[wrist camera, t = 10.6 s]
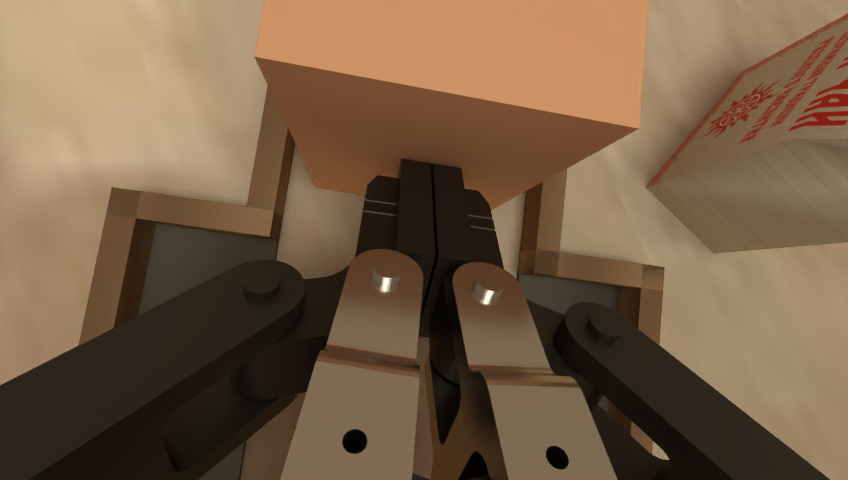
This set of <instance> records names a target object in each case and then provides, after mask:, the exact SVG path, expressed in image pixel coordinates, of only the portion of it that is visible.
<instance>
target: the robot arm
mask: <svg viewBox="0 0 848 480" xmlns="http://www.w3.org/2000/svg"><path fill="white" fill-rule="evenodd" d="M494 230H495V227H494V223H493V220H492V214H491V209H490V205H489V203H488V202H487V200H486V199H485V198H484V197H483V196H482V194H481V193H480V192H479V191H477V190H471V189H465V188H464V181H463V175H462V169H461V168H457V167H451V166H445V165H439V164H432V165H431V164H430V163H426V162H420V161H414V160H407V159H401V162H400V167H399V173H398V178H394V177H387V176H381V175H377V176H376V177H375V178H374V179H373V180H372V181H371V182H370V183H369V184H368V185H367V190H366V196H365V202H364V208H363V214H362V220H361V226H360V232H359V239H358V245H357V251H356V255H355V258H354V259H353V261H352V262H351V264H350V265H349V266H348V267H347V268H345V269H344V270H342V271H341V272H339V273H336V274H334V275H331V276H327V277H321V278H314V279H305V280H303V277H302V276H301V274H300V273H299V272H298V271H297V270H296V269H295V268H293V267H292V266H290V265H288V264H286V263H283V262H279V261H275V260H254V261H249V262H245V263H242V264H240V265H237V266H235V267H233V268H231V269H229V270H227V271H225V272H223V273H221V274H219V275H217V276H215V277H213V278H211V279H209V280H207V281H205V282H203V283H202V284H200V285H198V286H196V287H194V288H192V289H190V290H188V291H186V292H184V293H182V294H180V295H178V296H176V297H174V298H172V299H170V300H168V301H166V302H164V303H162V304H160V305H158V306H156V307H154V308H152V309H150V310H148V311H146V312H144V313H142V314H140V315H138V316H136V317H134V318H132V319H130V320H128V321H126V322H125V323H123V324H121V325H119V326H117V327H115V328H113V329H111V330H109V331H107V332H105V333H103V334H101V335H99V336H97V337H95V338H93V339H91V340H89V341H87V342H85V343H83V344H81V345H79V346H77V347H75V348H73V349H71V350H69V351H67V352H65V353H63V354H61V355H59V356H57V357H55V358H53V359H51V360H49V361H47V362H46V363H44V364H42V365H40V366H38V367H36V368H34V369H32V370H30V371H28V372H26V373H24V374H22V375H20V376H18V377H16V378H14V379H12V380H10V381H8V382H6V383H4V384H2V385H0V480H199V479H200V478H201V477H202V476H203V475H205V474H206V473H207V472H208V471H209V470H211V469H212V468H213V467H214V466H215V465H217V464H218V463H219V462H220V461H222V460H223V459H224V458H225V457H226V456H228V455H229V454H230V453H231V452H232V451H234V450H235V449H236V448H237V447H238V446H240V445H241V444H242V443H243V442H245V441H246V440H247V439H248V438H249V437H251V436H252V435H253V434H254V433H255V432H257V431H258V430H259V429H260V428H261V427H263V426H264V425H265V424H266V423H267V422H269V421H270V420H271V419H272V418H274V417H275V416H276V415H277V414H278V413H280V412H281V411H282V410H283V409H284V408H286V407H287V406H288V405H289V404H290V403H291V402H292V401H293V400H294V399H295V398H296V397H297V395H298V393H303V392H307V393H306V396H305V399H304V402H303V406H302V409H301V412H300V416H299V419H298V422H297V426H296V429H295V432H294V435H293V439H292V442H291V445H290V449H289V452H288V455H287V458H286V462H285V465H284V468H283V472H282V475H281V478H280V480H429V479H427V478H424V477H421V476H418V475H415V474H412V471H413V459H414V446H415V433H416V421H417V408H418V395H419V383H420V367H419V365H416V357H417V345H418V336H420V337H429V344H430V350H429V353H428V356H427V360H426V363H425V377H426V387H427V396H428V406H429V416H430V426H431V436H432V445H433V466H432V473H431V480H830V479H829V478H827V477H826V476H825V475H824V474H822V473H821V472H820V471H818V470H817V469H816V468H815V467H813V466H812V465H811V464H810V463H808V462H807V461H806V460H804V459H803V458H802V457H801V456H799V455H798V454H797V453H796V452H794V451H793V450H792V449H790V448H789V447H788V446H787V445H785V444H784V443H783V442H782V441H780V440H779V439H778V438H776V437H775V436H774V435H773V434H771V433H770V432H769V431H768V430H766V429H765V428H764V427H762V426H761V425H760V424H759V423H757V422H756V421H755V420H754V419H752V418H751V417H750V416H748V415H747V414H746V413H745V412H743V411H742V410H741V409H740V408H738V407H737V406H736V405H734V404H733V403H732V402H731V401H729V400H728V399H727V398H726V397H724V396H723V395H722V394H720V393H719V392H718V391H717V390H715V389H714V388H713V387H712V386H710V385H709V384H708V383H706V382H705V381H704V380H703V379H701V378H700V377H699V376H698V375H696V374H695V373H694V372H692V371H691V370H690V369H689V368H687V367H686V366H685V365H684V364H682V363H681V362H680V361H678V360H677V359H676V358H675V357H673V356H672V355H671V354H670V353H668V352H667V351H666V350H664V349H663V348H662V347H661V346H659V345H658V344H657V343H656V342H654V341H653V340H652V339H650V338H649V337H648V336H647V335H645V334H644V333H643V332H642V331H640V330H639V329H638V328H636V327H635V326H634V325H633V324H631V323H630V322H629V321H628V320H626V319H625V318H624V317H622V316H621V315H620V314H618V313H617V312H615V311H614V310H612V309H610V308H608V307H606V306H603V305H601V304H597V303H593V302H579V303H576V304H574V305H572V306H571V307H569V309H568V310H567V312H566V313H565V315H564V314H562V313H559V312H556V311H554V310H551V309H548V308H546V307H543V306H540V305H538V304H536V303H533V302H532V301H530V300H528V299H526V298H525V296H524V293H523V290H522V288H521V285H520V284H519V282H518V281H517V280H516V279H515V278H514V276H512V275H511V274H510V273H509V272H507V271H506V270H504V267H503V263H502V258H501V254H500V249H499V245H498V240H497V236H496V232H495V231H494ZM604 396H605V397H606V398H607V399H608V400H609V401H610V402H612V403H613V404H614V405H615V406H616V407H617V408H618V409H619V410H620V411H621V412H622V413H623V414H625V415H626V416H627V417H628V418H629V419H630V420H631V421H632V422H633V423H634V424H635V425H636V426H638V427H639V428H640V429H641V430H642V431H643V432H644V433H645V434H646V435H647V436H648V437H650V438H651V439H652V440H653V441H654V442H655V443H656V444H657V445H658V446H659V447H660V448H661V449H662V450H663V451H664V452H665V453H666V454H667V456H668V457H669V459H670V460H663V459H660V458H657V457H655V456H653V455H652V454H651V453H649V452H648V451H647V450H646V449H645V448H644V447H643V446H642V445H641V444H640V443H639V442H638V441H636V440H635V439H634V438H633V437H632V436H631V435H630V434H629V433H628V432H627V431H626V430H625V429H624V428H623V427H622V426H621V425H619V424H618V423H617V422H616V421H615V420H614V419H613V418H612V417H611V416H610V415H609V414H608V413H607V412H606V411H605V410H604V409H603V408H601V407H600V406H599V405H598V404H599V403H600V401H601V400H602V399H603V398H604Z"/></svg>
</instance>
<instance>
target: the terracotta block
mask: <svg viewBox="0 0 848 480" xmlns="http://www.w3.org/2000/svg"><path fill="white" fill-rule="evenodd" d="M648 4H649V0H265V1H264V7H263V13H262V18H261V24H260V29H259V35H258V40H257V46H256V51H255V59H256V61H257V63H258V65H259V67H260V69H261V71H262V73H263V76H264V78H265V80H266V82H267V84H268V86H269V88H270V90H271V92H272V95H273V97H274V99H275V101H276V103H277V105H278V107H279V109H280V111H281V114H282V116H283V118H284V120H285V122H286V124H287V126H288V128H289V131H290V133H291V135H292V137H293V139H294V141H295V143H296V145H297V147H298V150H299V152H300V154H301V156H302V158H303V160H304V162H305V164H306V166H307V169H308V171H309V173H310V175H311V177H312V179H313V181H314V183H315V185H316V188H321V189H328V190H334V191H341V192H347V193H354V194H360V195H366V190H367V185H368V184H369V183H370V182H371V181H372V180H373V179H374V178H375V177H376V176H377V175H381V176H387V177H394V178H398V173H399V167H400V162H401V159H407V160H414V161H420V162H426V163H430V164H431V165H432V164H439V165H445V166H451V167H457V168H461V169H462V175H463V181H464V188H465V189H471V190H477V191H479V192H480V193H481V194H482V196H483V197H484V198H485V199H486V200H487V202H488V203H489V205H490V209H491V210H492V209H494V208H496V207H498V206H499V205H501V204H503V203H505V202H507V201H509V200H510V199H512V198H514V197H516V196H518V195H519V194H521V193H523V192H525V191H527V190H528V189H530V188H532V187H534V186H536V185H538V184H539V183H541V182H543V181H545V180H547V179H548V178H550V177H552V176H554V175H556V174H557V173H559V172H561V171H563V170H565V169H567V168H568V167H570V166H572V165H574V164H576V163H577V162H579V161H581V160H583V159H585V158H586V157H588V156H590V155H592V154H594V153H596V152H597V151H599V150H601V149H603V148H605V147H606V146H608V145H610V144H612V143H614V142H615V141H617V140H619V139H621V138H623V137H625V136H626V135H628V134H630V133H632V132H634V131H635V130H637V129H639V123H640V109H641V96H642V83H643V70H644V57H645V43H646V30H647V17H648Z"/></svg>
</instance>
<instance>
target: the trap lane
mask: <svg viewBox="0 0 848 480" xmlns="http://www.w3.org/2000/svg"><path fill="white" fill-rule="evenodd" d="M294 145H295V141H294V139H293V137H292V135H291V133H290V131H289V128H288V126H287V124H286V122H285V120H284V118H283V116H282V114H281V111H280V109H279V107H278V105H277V103H276V101H275V99H274V97H273V95H272V92H271V90H270V88H269V86H268V88H267V94H266V100H265V105H264V111H263V117H262V122H261V128H260V134H259V140H258V145H257V151H256V157H255V162H254V168H253V174H252V180H251V185H250V191H249V197H248V202H247V207H244V206H238V205H231V204H224V203H217V202H210V201H203V200H196V199H189V198H182V197H175V196H169V195H162V194H155V193H148V192H141V191H134V190H127V189H120V188H113V187H112V189H111V194H110V199H109V203H108V208H107V213H106V218H105V222H104V227H103V232H102V237H101V241H100V246H99V251H98V256H97V260H96V265H95V270H94V275H93V279H92V284H91V289H90V294H89V298H88V303H87V308H86V313H85V317H84V322H83V327H82V332H81V336H80V341H79V345H81V344H83V343H85V342H87V341H89V340H91V339H93V338H95V337H97V336H99V335H101V334H103V333H105V332H107V331H109V330H111V329H113V328H115V327H117V326H119V325H121V324H123V323H125V322H126V321H128V320H130V319H132V318H134V317H136V316H138V315H140V314H142V313H144V312H146V311H148V310H150V309H152V308H154V307H156V306H158V305H160V304H162V303H164V302H166V301H168V300H170V299H172V298H174V297H176V296H178V295H180V294H182V293H184V292H186V291H188V290H190V289H192V288H194V287H196V286H198V285H200V284H202V283H203V282H205V281H207V280H209V279H211V278H213V277H215V276H217V275H219V274H221V273H223V272H225V271H227V270H229V269H231V268H233V267H235V266H237V265H240V264H242V263H245V262H249V261H254V260H276V254H277V248H278V242H279V236H280V230H281V224H282V218H283V212H284V206H285V200H286V194H287V188H288V182H289V176H290V170H291V164H292V157H293V151H294ZM566 175H567V169H565V170H563V171H561V172H559V173H557V174H556V175H554V176H552V177H550V178H548V179H547V180H545V181H543V182H541V183H539V184H538V185H536V186H534V187H532V188H530V189H528V190H527V191H526V200H525V210H524V219H523V229H522V239H521V248H520V258H519V268H518V277H517V281H518V282H519V284H520V285H521V288H522V290H523V293H524V296H525V298H526V299H528V300H530V301H532V302H533V303H536V304H538V305H540V306H543V307H546V308H548V309H551V310H554V311H556V312H559V313H562V314H564V315H565V313H566V312H567V310H568V309H569V307H571V306H572V305H574V304H576V303H579V302H593V303H597V304H601V305H603V306H606V307H608V308H610V309H612V310H614V311H615V312H617V313H618V314H620V315H621V316H622V317H624V318H625V319H626V320H628V321H629V322H630V323H631V324H633V325H634V326H635V327H636V328H638V329H639V330H640V331H642V332H643V333H644V334H645V335H647V336H648V337H649V338H650V339H652V340H653V341H654V342H656V343H657V344H658V345H659V342H660V327H661V311H662V296H663V281H664V267H659V266H652V265H645V264H638V263H631V262H624V261H617V260H610V259H603V258H596V257H590V256H583V255H576V254H569V253H562V252H559V250H560V240H561V229H562V218H563V208H564V197H565V186H566ZM598 405H599V406H600V407H601V408H603V409H604V410H605V411H606V412H607V413H608V414H609V415H610V416H611V417H612V418H613V419H614V420H615V421H616V422H617V423H618V424H619V425H621V426H622V427H623V428H624V429H625V430H626V431H627V432H628V433H629V434H630V435H631V436H632V437H633V438H634V439H635V440H636V441H638V442H639V443H640V444H641V445H642V446H643V447H644V448H645V449H646V450H647V451H648V452H649V453H651V454H652V447H653V440H652V439H651V438H650V437H648V436H647V435H646V434H645V433H644V432H643V431H642V430H641V429H640V428H639V427H638V426H636V425H635V424H634V423H633V422H632V421H631V420H630V419H629V418H628V417H627V416H626V415H625V414H623V413H622V412H621V411H620V410H619V409H618V408H617V407H616V406H615V405H614V404H613V403H612V402H610V401H609V400H608V399H607V398H606V397H605V396H604V398H603V399H602V400H601V401H600V403H599V404H598ZM245 442H246V441H245ZM245 442H243V443H242V444H241V445H240V446H238V447H237V448H236V449H235V450H234V451H232V452H231V453H230V454H229V455H228V456H226V457H225V458H224V459H223V460H222V461H220V462H219V463H218V464H217V465H215V466H214V467H213V468H212V469H211V470H209V471H208V472H207V473H206V474H205V475H203V476H202V477H201V478H200V479H199V480H239V478H240V472H241V466H242V460H243V454H244V448H245Z"/></svg>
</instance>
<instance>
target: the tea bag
mask: <svg viewBox="0 0 848 480" xmlns="http://www.w3.org/2000/svg"><path fill="white" fill-rule="evenodd" d="M647 189H648V190H649V191H650V192H651V193H652V194H653V195H654V196H655V197H656V198H657V199H658V200H659V201H660V202H662V203H663V204H664V205H665V206H666V207H667V208H668V209H669V210H670V211H671V212H672V213H673V214H674V215H675V216H676V217H677V218H678V219H679V220H680V221H681V222H682V223H683V224H684V225H685V226H686V227H687V228H688V229H689V230H690V231H691V232H692V233H694V234H695V235H696V236H697V237H698V238H699V239H700V240H701V241H702V242H703V243H704V244H705V245H706V246H707V247H708V248H709V249H710V250H711V251H712V252H713V253H723V252H735V251H747V250H759V249H771V248H784V247H796V246H808V245H820V244H832V243H844V242H848V14H846V15H844V16H842V17H841V18H839V19H837V20H835V21H833V22H832V23H830V24H828V25H826V26H824V27H823V28H821V29H819V30H817V31H815V32H813V33H812V34H810V35H808V36H806V37H804V38H803V39H801V40H799V41H797V42H795V43H794V44H792V45H790V46H788V47H786V48H785V49H783V50H781V51H779V52H777V53H776V54H774V55H772V56H770V57H768V58H766V59H765V60H763V61H761V62H759V63H757V64H756V65H754V66H752V67H750V68H748V69H747V70H745V71H743V72H742V74H741V75H740V76H739V77H738V78H737V80H736V81H735V82H734V83H733V84H732V86H731V87H730V88H729V89H728V90H727V92H726V93H725V94H724V95H723V96H722V98H721V99H720V100H719V101H718V102H717V104H716V105H715V106H714V107H713V108H712V110H711V111H710V112H709V113H708V114H707V116H706V117H705V118H704V119H703V120H702V122H701V123H700V124H699V125H698V126H697V128H696V129H695V130H694V131H693V132H692V134H691V135H690V136H689V137H688V138H687V140H686V141H685V142H684V143H683V144H682V146H681V147H680V148H679V149H678V150H677V152H676V153H675V154H674V155H673V156H672V158H671V159H670V160H669V161H668V162H667V164H666V165H665V166H664V167H663V168H662V170H661V171H660V172H659V173H658V174H657V176H656V177H655V178H654V179H653V180H652V182H651V183H650V184H649V185H648V186H647Z"/></svg>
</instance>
